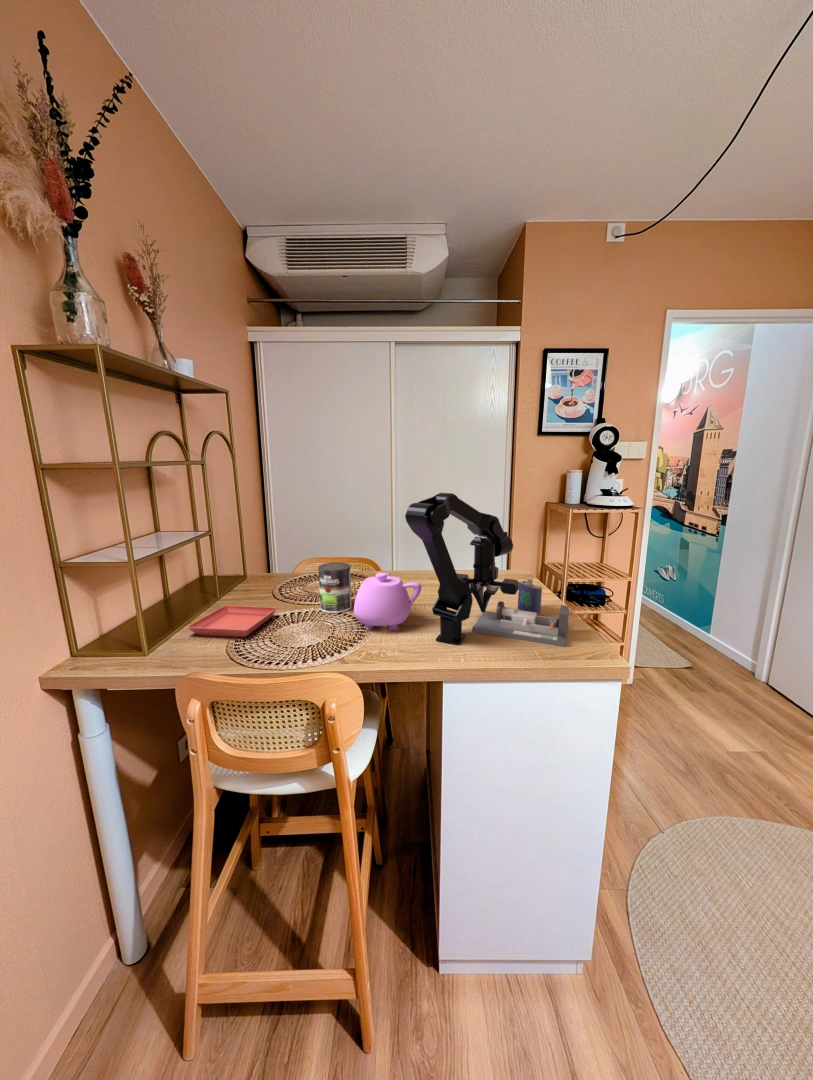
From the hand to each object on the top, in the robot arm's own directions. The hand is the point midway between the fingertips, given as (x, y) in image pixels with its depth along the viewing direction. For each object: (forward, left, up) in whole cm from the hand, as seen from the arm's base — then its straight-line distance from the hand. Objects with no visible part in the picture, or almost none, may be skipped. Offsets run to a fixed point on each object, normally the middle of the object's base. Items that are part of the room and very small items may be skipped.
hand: (483, 612), depth 117 cm
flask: (+15, -11, -4) cm, 18 cm away
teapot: (-8, +26, -4) cm, 28 cm away
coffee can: (-5, +47, -4) cm, 48 cm away
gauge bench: (0, -11, -4) cm, 11 cm away
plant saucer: (-29, +66, -4) cm, 73 cm away
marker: (-2, -19, -2) cm, 19 cm away
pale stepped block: (-2, -9, -2) cm, 10 cm away
